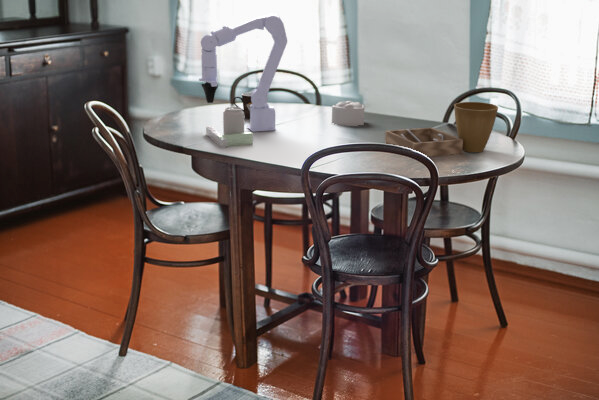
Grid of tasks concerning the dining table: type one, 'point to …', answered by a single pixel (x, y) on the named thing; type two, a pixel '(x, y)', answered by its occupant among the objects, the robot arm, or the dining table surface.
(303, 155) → the dining table surface
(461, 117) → the plant pot
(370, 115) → the dining table surface
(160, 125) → the dining table surface
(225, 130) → the can
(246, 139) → the pale green flat block
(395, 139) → the rack corral
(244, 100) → the coffee mug
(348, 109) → the lumpy-topped squat cylinder
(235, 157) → the dining table surface
